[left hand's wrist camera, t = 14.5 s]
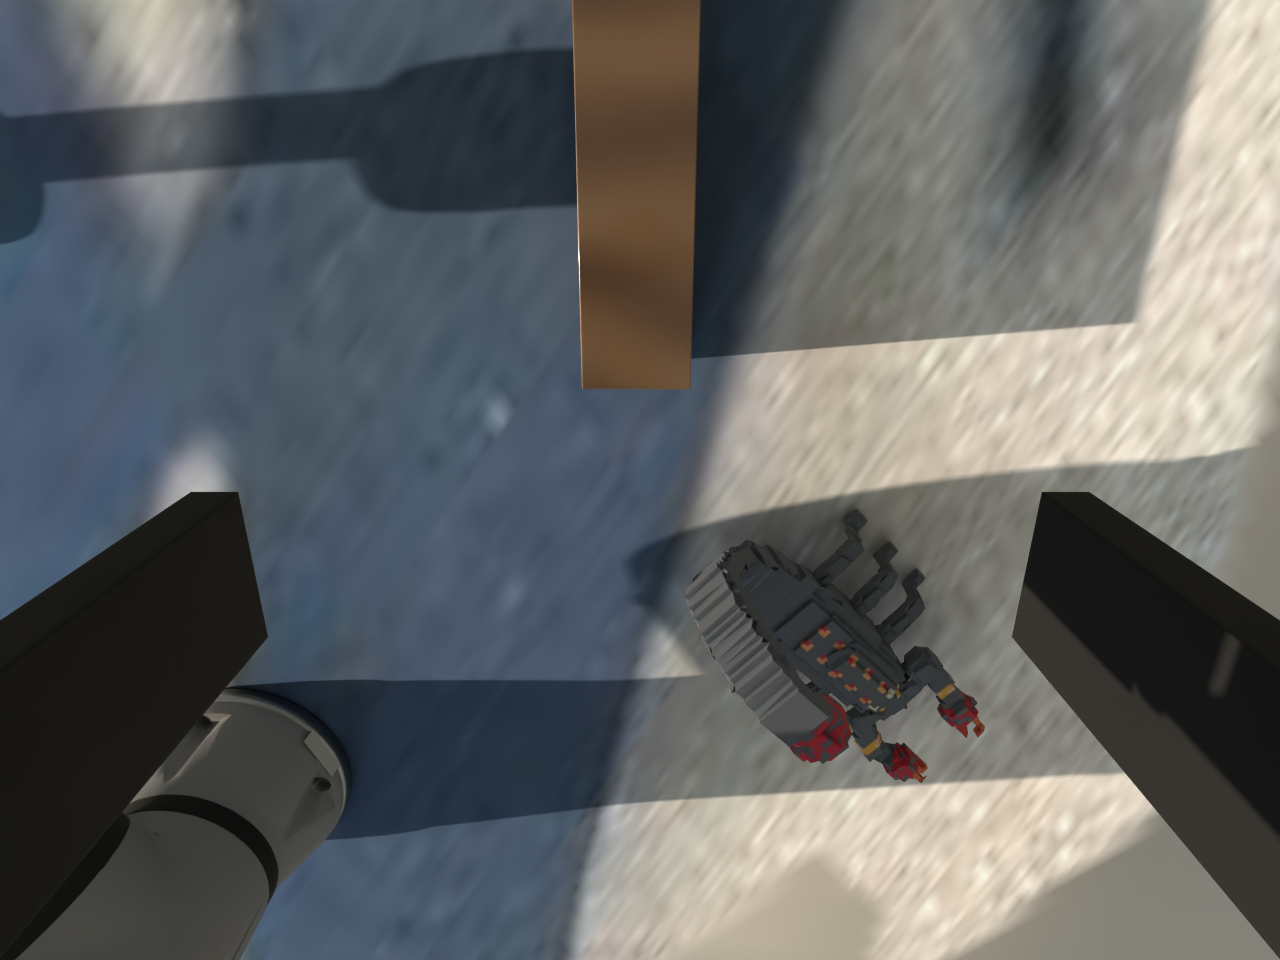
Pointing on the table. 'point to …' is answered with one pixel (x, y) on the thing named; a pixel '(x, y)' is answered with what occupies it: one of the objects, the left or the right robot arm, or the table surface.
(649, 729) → the table surface
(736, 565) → the toy
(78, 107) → the table surface
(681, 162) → the brown wooden beam
